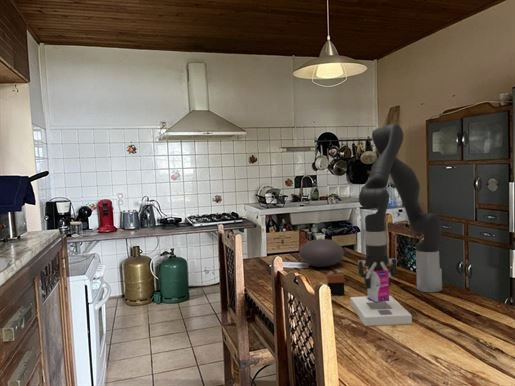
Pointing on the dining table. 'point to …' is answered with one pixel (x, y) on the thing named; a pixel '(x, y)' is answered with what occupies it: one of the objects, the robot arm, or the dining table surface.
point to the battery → (336, 282)
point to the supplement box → (379, 286)
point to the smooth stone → (321, 252)
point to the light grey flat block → (380, 311)
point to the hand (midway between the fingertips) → (377, 287)
